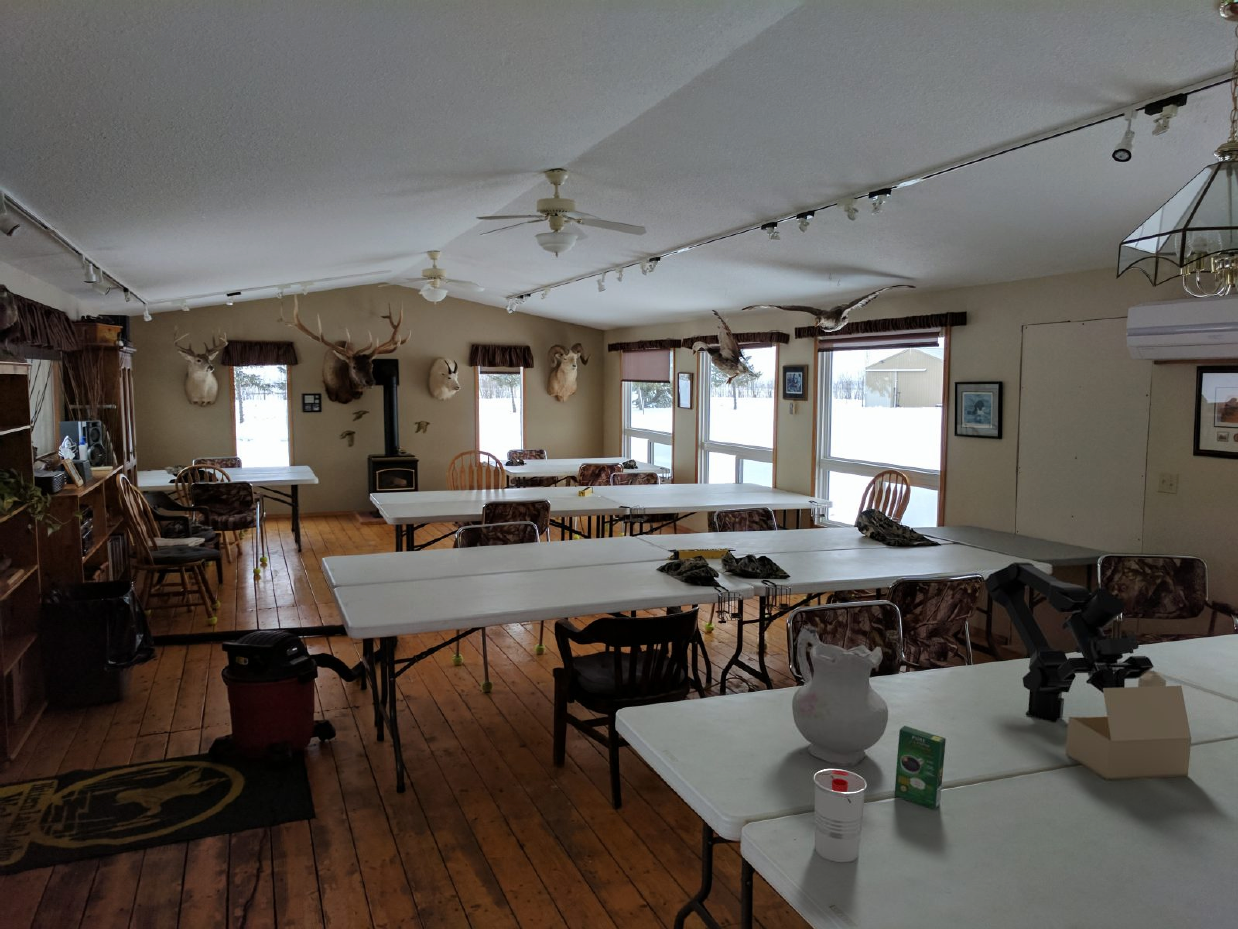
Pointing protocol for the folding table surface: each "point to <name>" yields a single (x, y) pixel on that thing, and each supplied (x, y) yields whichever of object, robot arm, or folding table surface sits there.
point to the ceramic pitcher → (838, 700)
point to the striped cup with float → (838, 814)
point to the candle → (1151, 680)
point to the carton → (1124, 752)
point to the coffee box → (919, 767)
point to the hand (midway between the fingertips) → (1123, 706)
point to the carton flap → (1146, 713)
